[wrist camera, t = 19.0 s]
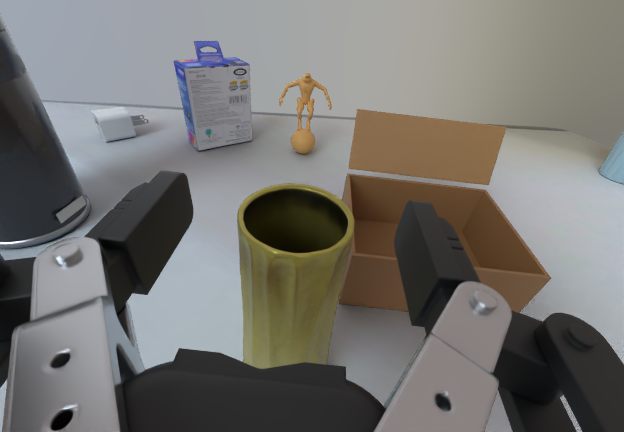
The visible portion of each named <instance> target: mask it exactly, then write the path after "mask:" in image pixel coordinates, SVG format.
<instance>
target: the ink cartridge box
mask: <svg viewBox="0 0 624 432" xmlns="http://www.w3.org/2000/svg"><path fill="white" fill-rule="evenodd" d="M194 43H195V48H196V53H197V57H198V59H192V60H175V61H174V65H175V70H176V75H177V79H178V84H179V90H180V94H181V100H182V105H183V110H184V115H185V121H186V126H187V132H188V137H189V141H190V142H191V143H192V145H193V146H194V147H195V148H196V150H199V151H200V150H205V149H210V148H215V147H220V146H225V145H230V144H235V143H241V142H246V141H251V140H252V117H251V97H250V96H251V95H250V65H249V64H248V63H246V62H243V61H242V60H240V59H238V58H235V57H233V58H232V57H231V58H223V55H222V52H221V49H220V46H219V43H218V41H194ZM206 46H210V47H213V48H216V49H217V52H215V53H213V52H207V53H203V52H201V51H200V48H203V47H206Z"/></svg>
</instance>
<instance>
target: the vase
mask: <svg viewBox="0 0 624 432" xmlns="http://www.w3.org/2000/svg"><path fill="white" fill-rule="evenodd" d="M237 222H238V236H239V252H240V274H241V289H242V302H243V356H244V360H243V362H244V363H246V364H248V365H251V366H253V367H256V368H259V369H265V368H272V367H278V366H284V365H291V364H297V363H303V362H307V363H316V364H325V365H326V361H327V356H328V350H329V345H330V339H331V334H332V329H333V323H334V318H335V313H336V308H337V303H338V299H339V294H340V291H341V287H342V282H343V278H344V273H345V269H346V265H347V261H348V256H349V253H350V249H351V246H352V240H353V232H354V225H355V220H354V216H353V214H352V212H351V211H350V209H349V208H348V207H347V205H346V204H345V203H344V202H343V201H342V200H341V199H339V198H338V197H337V196H335V195H333V194H331V193H330V192H328V191H326V190H323V189H321V188H318V187H314V186H310V185H305V184H293V183H287V184H279V185H274V186H270V187H266V188H263V189H261V190H259V191H257V192H255V193H253V194H252V195H250V196H249V197H247V198H246V199H245V200H244V201H243V203H242V204H241V206H240V208H239V210H238V216H237Z"/></svg>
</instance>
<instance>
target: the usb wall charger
mask: <svg viewBox="0 0 624 432" xmlns="http://www.w3.org/2000/svg"><path fill="white" fill-rule="evenodd" d="M91 112H92V115H93V118H94V120H95V123H96V126H97V128H98V131H99V133H100V135H101V137H102V138H103V139H104V140H105V142H108V141H114V140H119V139H124V138H130V137H135V136H136V133H135V129H134V126H136V125H142V124H146V123H149V121H148V119H144V115H137V116H130V114H129V112H128V111H127V110H126V109H125V108H124V107H116V108H109V109H101V110H94V111H91ZM140 116H143V118H142V119H141V118H140ZM145 120H147V122H146V123H145V122H144V121H145Z"/></svg>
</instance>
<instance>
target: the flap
mask: <svg viewBox="0 0 624 432" xmlns="http://www.w3.org/2000/svg"><path fill="white" fill-rule="evenodd" d="M505 130H506V127H502V126H494V125H485V124H477V123H467V122H460V121H452V120H444V119H435V118H427V117H418V116H410V115H402V114H393V113H385V112H377V111H368V110H359V109H358V110H357V115H356V122H355V128H354V135H353V141H352V148H351V154H350V161H349V169H356V170H364V171H373V172H381V173H390V174H398V175H407V176H415V177H424V178H432V179H441V180H449V181H458V182H466V183H474V184H483V185H489V182H490V179H491V176H492V172H493V169H494V166H495V163H496V159H497V156H498V153H499V150H500V146H501V143H502V140H503V137H504V134H505Z"/></svg>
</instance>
